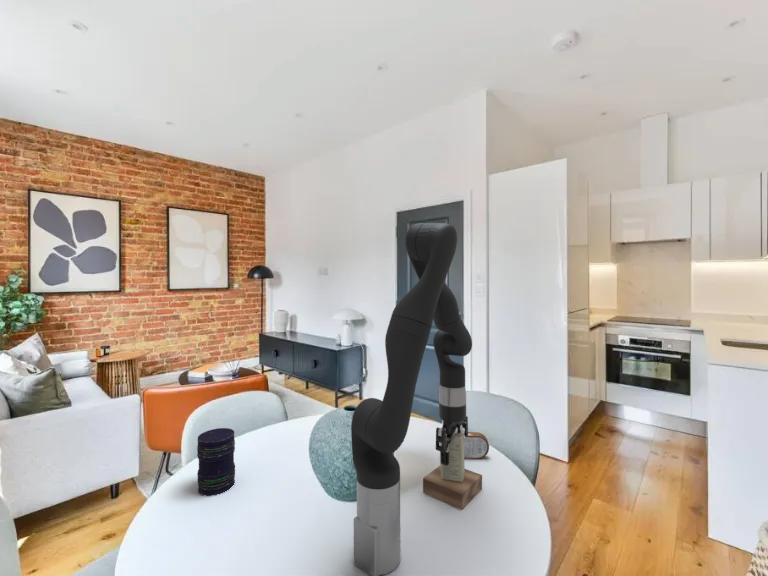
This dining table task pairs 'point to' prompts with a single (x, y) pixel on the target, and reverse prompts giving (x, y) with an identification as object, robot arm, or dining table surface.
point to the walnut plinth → (453, 487)
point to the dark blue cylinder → (216, 461)
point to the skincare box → (454, 460)
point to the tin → (475, 446)
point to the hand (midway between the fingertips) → (452, 458)
